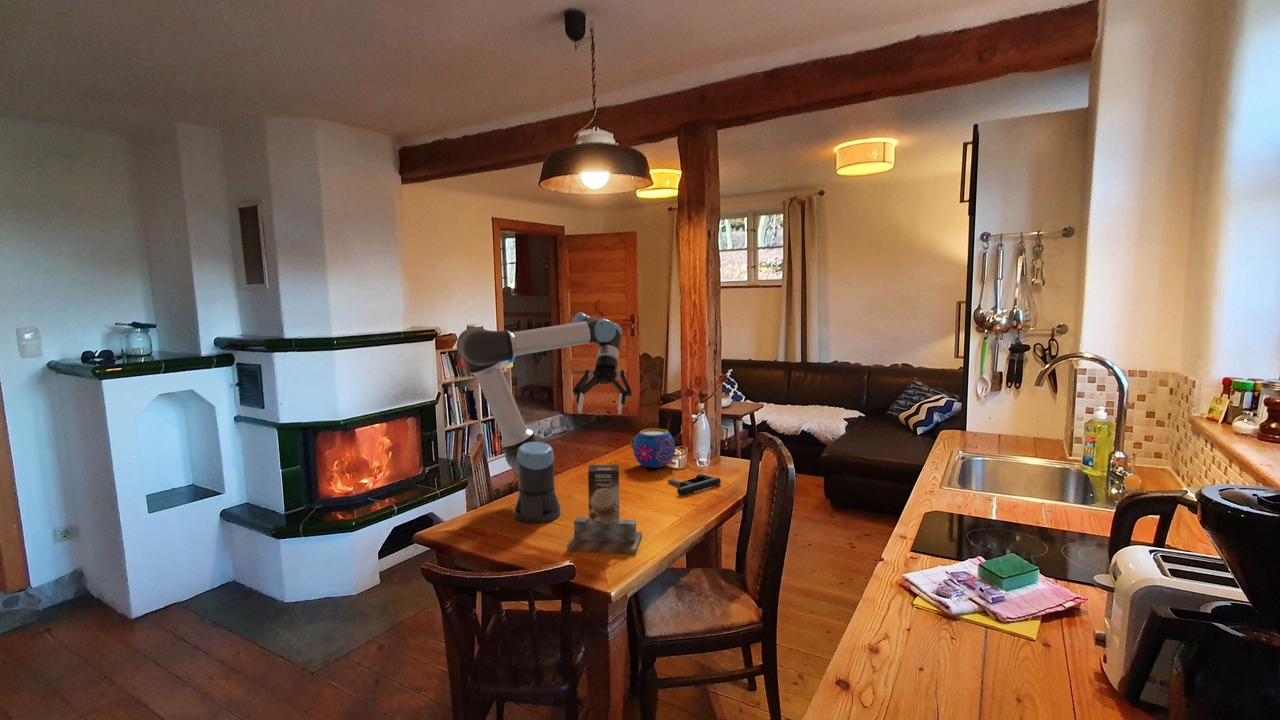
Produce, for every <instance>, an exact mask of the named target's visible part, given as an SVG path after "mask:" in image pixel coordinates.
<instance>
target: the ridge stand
mask: <svg viewBox="0 0 1280 720" xmlns="http://www.w3.org/2000/svg"><path fill="white" fill-rule="evenodd" d="M573 530H574V531H573V535H572V537H571V539H570V541H568V544H567V545H566V550H567V552H568V551H569V552H581V553H582V552H584V553H585V552H586V553H601V554H602V553H604V554H622V555H623V554H624V555H625V554H626V555H637V553H638V550H639V546H640V544H641V541H642V538H643V531H637V520H636V519H624V518H623V519H620V518H619V524H589V517H575V519H574V520H573Z"/></svg>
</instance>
